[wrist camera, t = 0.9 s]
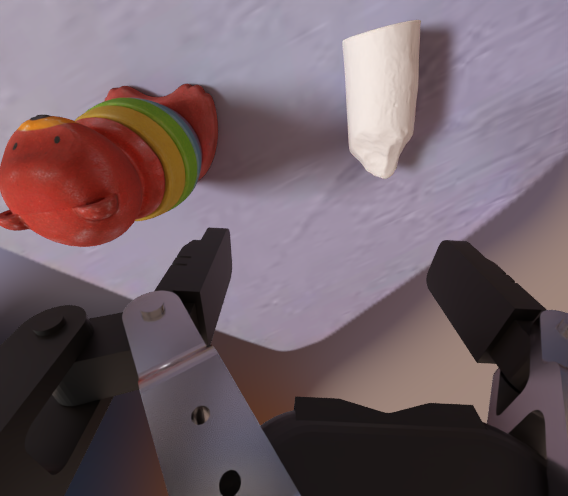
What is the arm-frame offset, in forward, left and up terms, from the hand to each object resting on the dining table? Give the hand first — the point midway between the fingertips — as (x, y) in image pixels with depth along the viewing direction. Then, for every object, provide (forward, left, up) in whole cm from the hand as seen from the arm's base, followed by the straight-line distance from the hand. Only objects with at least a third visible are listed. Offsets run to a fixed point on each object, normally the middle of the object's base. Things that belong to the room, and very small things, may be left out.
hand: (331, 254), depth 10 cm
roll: (-3, +6, -22) cm, 23 cm away
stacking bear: (0, -14, -21) cm, 26 cm away
